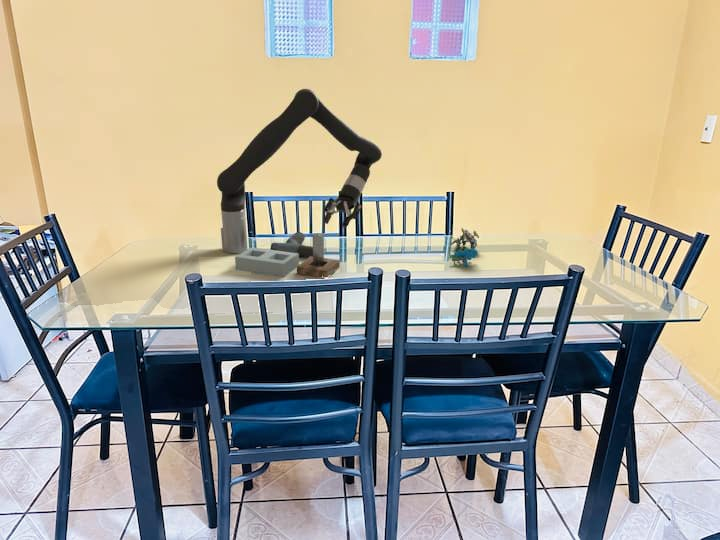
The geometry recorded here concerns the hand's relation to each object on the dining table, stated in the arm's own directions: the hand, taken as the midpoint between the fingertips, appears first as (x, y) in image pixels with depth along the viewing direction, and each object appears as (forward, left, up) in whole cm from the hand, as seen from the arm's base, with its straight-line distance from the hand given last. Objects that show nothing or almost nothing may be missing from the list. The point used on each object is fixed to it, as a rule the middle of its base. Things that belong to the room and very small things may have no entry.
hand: (334, 224), depth 184 cm
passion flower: (+45, +36, -16) cm, 59 cm away
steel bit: (-2, -9, -16) cm, 18 cm away
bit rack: (-21, -13, -16) cm, 30 cm away
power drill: (-19, +10, -16) cm, 27 cm away
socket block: (-2, -9, -16) cm, 18 cm away
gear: (+47, +18, -16) cm, 53 cm away
